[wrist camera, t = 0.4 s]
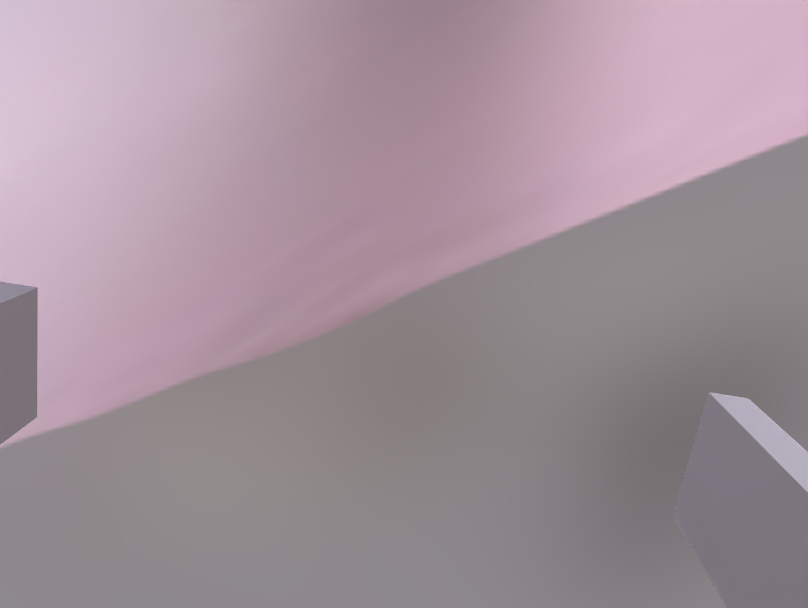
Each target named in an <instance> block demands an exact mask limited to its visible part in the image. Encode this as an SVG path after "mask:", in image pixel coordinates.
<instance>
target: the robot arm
mask: <svg viewBox="0 0 808 608" xmlns="http://www.w3.org/2000/svg"><path fill="white" fill-rule="evenodd" d="M36 417H37V287H31V286H24V285H18V284H12V283H5V282H0V444H2V443H3V442H4V441H6V440H7V439H8V438H10V437H11V436H12V435H14V434H15V433H16V432H18V431H19V430H20V429H22V428H23V427H24V426H26V425H27V424H28V423H30V422H31V421H32V420H34V419H35V418H36ZM673 518H674V519H675V521H676V523H677V525H678V526H679V528H680V530H681V531H682V533H683V535H684V536H685V538H686V540H687V541H688V543H689V545H690V547H691V548H692V550H693V551H694V553H695V555H696V557H697V558H698V560H699V562H700V564H701V565H702V567H703V569H704V570H705V572H706V574H707V575H708V577H709V579H710V580H711V582H712V584H713V586H714V587H715V589H716V591H717V592H718V594H719V596H720V597H721V599H722V600H723V602H724V604H725V606H726V607H727V608H808V452H807V451H806V450H805V449H803V448H802V447H801V446H800V445H799V444H798V443H797V442H796V441H795V440H794V439H792V438H791V437H790V436H789V435H788V434H787V433H786V432H785V431H784V430H782V429H781V428H780V427H779V426H778V425H777V424H776V423H775V422H773V420H771V419H770V418H769V417H768V416H767V415H766V414H765V413H764V412H763V411H762V410H760V409H759V408H758V407H757V406H756V405H755V404H754V403H753V402H752V401H750V400H749V399H748V398H742V397H735V396H729V395H722V394H715V393H710V392H709V394H708V398H707V402H706V405H705V408H704V411H703V415H702V418H701V422H700V425H699V429H698V432H697V436H696V439H695V442H694V446H693V449H692V453H691V456H690V460H689V463H688V467H687V470H686V473H685V477H684V480H683V484H682V487H681V490H680V494H679V498H678V501H677V504H676V508H675V511H674V515H673Z"/></svg>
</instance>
